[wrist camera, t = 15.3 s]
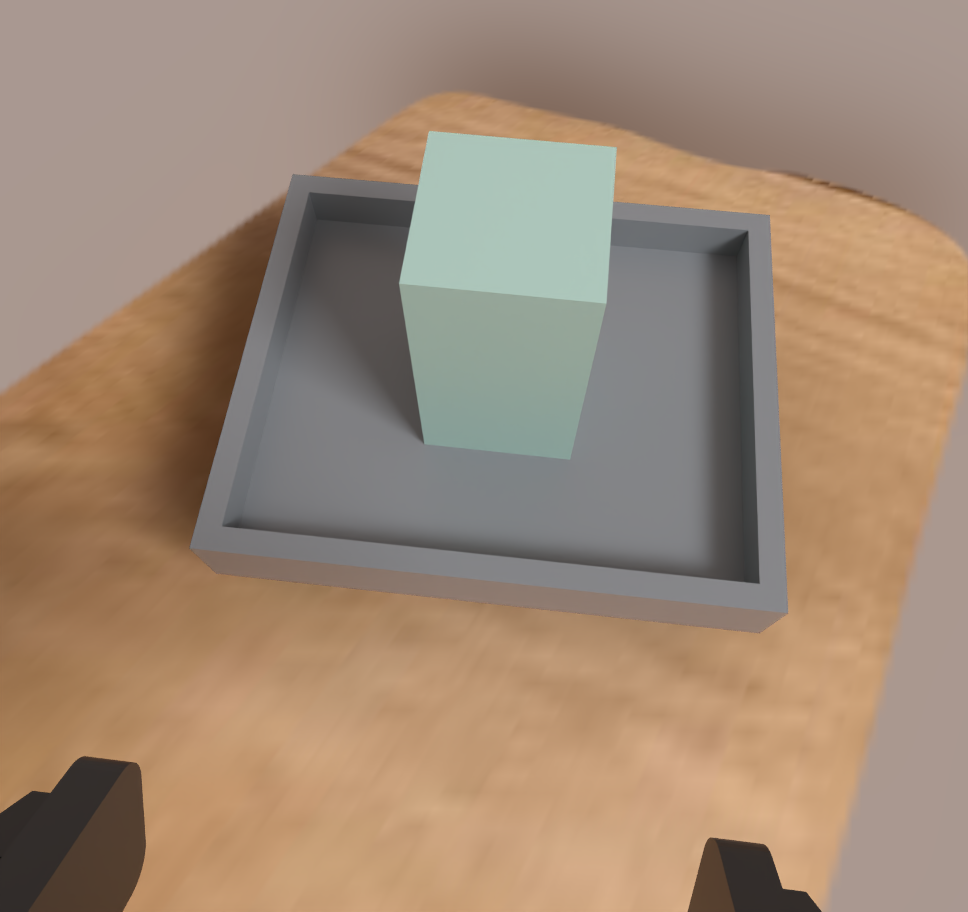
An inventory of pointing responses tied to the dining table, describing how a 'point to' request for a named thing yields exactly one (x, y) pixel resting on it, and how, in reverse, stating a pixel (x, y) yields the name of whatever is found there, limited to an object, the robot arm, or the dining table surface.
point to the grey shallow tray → (505, 476)
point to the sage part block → (506, 289)
